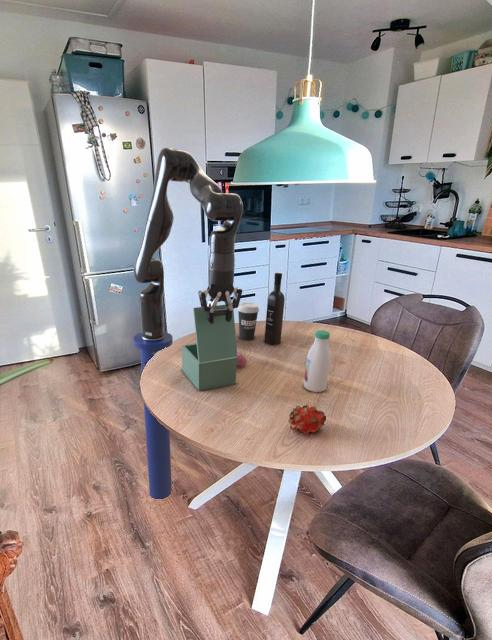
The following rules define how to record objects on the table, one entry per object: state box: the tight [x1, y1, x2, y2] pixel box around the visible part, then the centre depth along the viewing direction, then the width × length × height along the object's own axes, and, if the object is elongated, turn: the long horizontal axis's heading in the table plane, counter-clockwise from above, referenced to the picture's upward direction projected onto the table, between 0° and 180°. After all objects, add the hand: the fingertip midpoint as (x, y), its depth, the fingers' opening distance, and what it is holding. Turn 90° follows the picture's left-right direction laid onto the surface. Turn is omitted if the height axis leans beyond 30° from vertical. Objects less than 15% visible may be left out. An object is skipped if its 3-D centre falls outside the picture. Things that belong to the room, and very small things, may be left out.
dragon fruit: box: [288, 404, 327, 437], centre depth 107 cm, size 8×8×12 cm
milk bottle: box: [303, 329, 332, 393], centre depth 128 cm, size 8×8×20 cm
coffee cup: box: [236, 302, 260, 341], centre depth 170 cm, size 10×10×15 cm
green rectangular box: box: [181, 342, 238, 392], centre depth 135 cm, size 17×14×10 cm
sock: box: [236, 351, 248, 368], centre depth 146 cm, size 8×4×4 cm, turn 25°
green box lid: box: [192, 304, 238, 363], centre depth 122 cm, size 17×14×5 cm
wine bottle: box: [263, 272, 286, 346], centre depth 163 cm, size 6×6×30 cm
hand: (219, 321), depth 120 cm, fingers closed on green box lid, 5 cm apart
